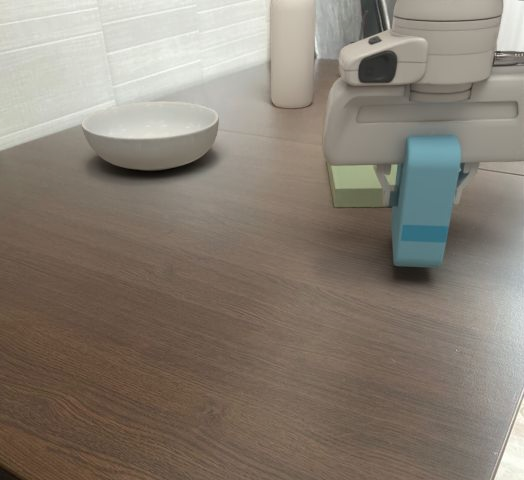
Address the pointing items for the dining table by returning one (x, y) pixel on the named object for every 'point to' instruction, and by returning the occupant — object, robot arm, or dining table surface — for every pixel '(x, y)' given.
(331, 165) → the robot arm
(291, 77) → the alcohol
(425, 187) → the data package
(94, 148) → the serving bowl
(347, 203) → the shallow green tray
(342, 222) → the dining table surface
